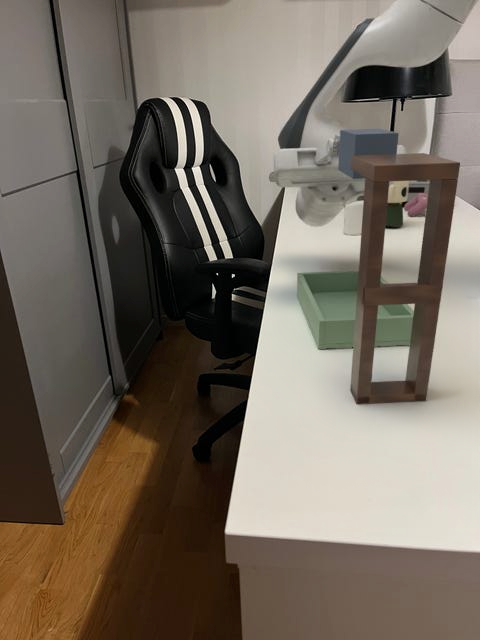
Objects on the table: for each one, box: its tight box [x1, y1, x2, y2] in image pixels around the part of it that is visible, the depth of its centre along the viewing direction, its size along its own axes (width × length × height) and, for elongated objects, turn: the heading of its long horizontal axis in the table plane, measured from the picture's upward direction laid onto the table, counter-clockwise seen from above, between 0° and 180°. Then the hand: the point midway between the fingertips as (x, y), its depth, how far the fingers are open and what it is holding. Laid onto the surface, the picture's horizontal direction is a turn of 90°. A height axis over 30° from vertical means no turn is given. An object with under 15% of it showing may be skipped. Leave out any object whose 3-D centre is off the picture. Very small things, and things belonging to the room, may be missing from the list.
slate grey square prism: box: [335, 128, 400, 179], centre depth 66 cm, size 5×16×5 cm, turn 2°
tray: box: [296, 269, 414, 350], centre depth 78 cm, size 14×21×4 cm, turn 2°
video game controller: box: [403, 193, 428, 217], centre depth 144 cm, size 10×5×7 cm, turn 170°
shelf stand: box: [349, 152, 461, 405], centre depth 55 cm, size 8×9×26 cm
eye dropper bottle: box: [342, 200, 364, 236], centre depth 124 cm, size 4×6×12 cm
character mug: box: [385, 181, 409, 228], centre depth 130 cm, size 11×7×13 cm, turn 157°
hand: (349, 143), depth 70 cm, fingers closed on slate grey square prism, 3 cm apart
